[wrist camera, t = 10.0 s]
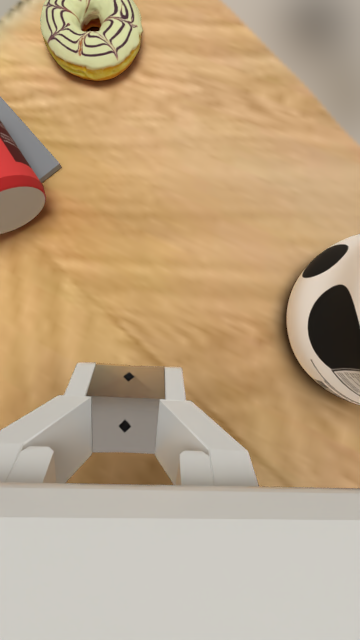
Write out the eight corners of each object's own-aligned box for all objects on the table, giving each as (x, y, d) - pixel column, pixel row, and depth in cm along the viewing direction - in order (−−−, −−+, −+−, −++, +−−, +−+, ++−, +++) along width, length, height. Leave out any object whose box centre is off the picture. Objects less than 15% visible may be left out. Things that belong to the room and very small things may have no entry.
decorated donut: (150, 14, 39) (151, -21, 35) (132, 99, 38) (130, 72, 34) (60, -10, 38) (51, -49, 35) (39, 76, 37) (27, 45, 34)
